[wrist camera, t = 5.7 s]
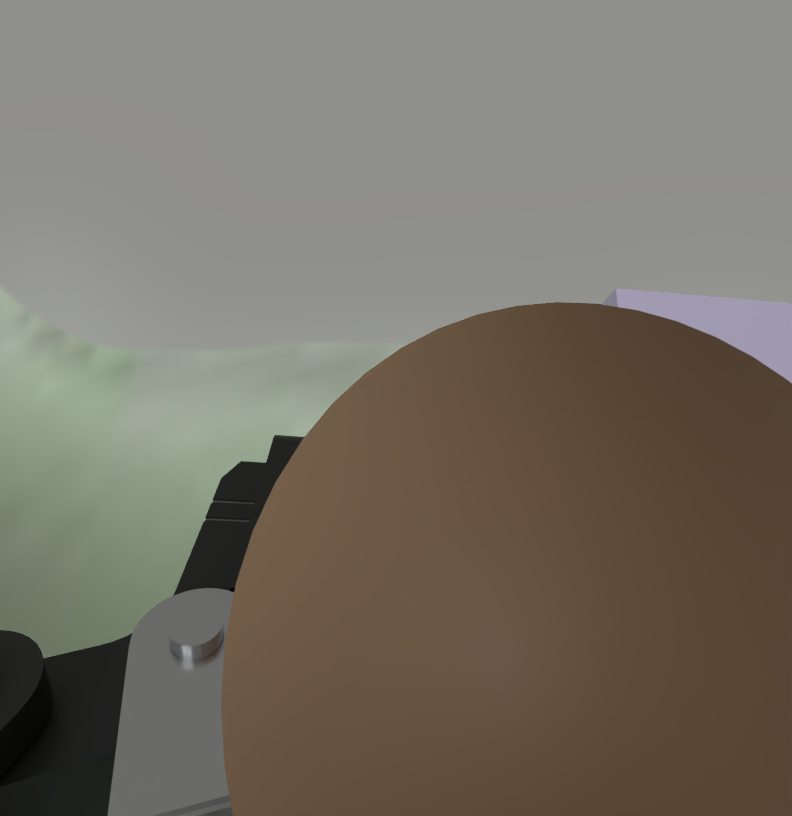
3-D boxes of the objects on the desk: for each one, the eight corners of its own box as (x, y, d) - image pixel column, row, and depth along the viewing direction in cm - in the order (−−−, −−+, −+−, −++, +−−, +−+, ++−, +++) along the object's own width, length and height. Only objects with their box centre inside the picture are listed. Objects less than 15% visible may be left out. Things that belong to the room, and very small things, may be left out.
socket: (583, 670, 20) (660, 697, 15) (561, 347, 24) (616, 288, 19) (908, 678, 21) (1075, 706, 16) (833, 367, 25) (949, 316, 20)
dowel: (306, 664, 15) (148, 1243, 2) (319, 520, 16) (271, 271, 3) (446, 668, 16) (1109, 1172, 2) (447, 527, 17) (887, 332, 4)
